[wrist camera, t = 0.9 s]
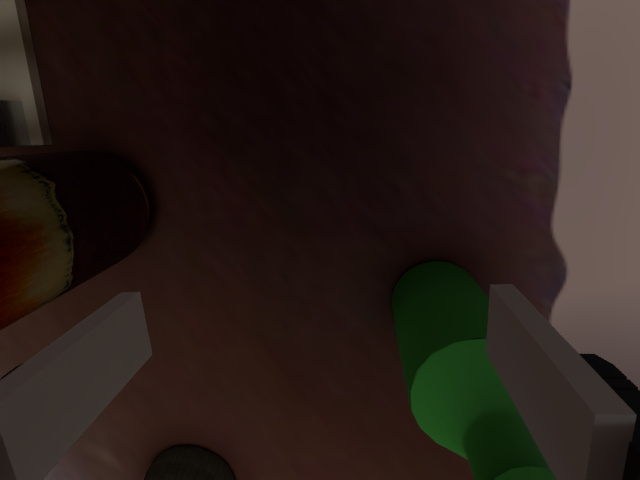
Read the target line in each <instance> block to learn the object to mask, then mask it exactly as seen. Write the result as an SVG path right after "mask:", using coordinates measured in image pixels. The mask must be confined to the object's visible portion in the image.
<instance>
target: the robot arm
mask: <svg viewBox="0 0 640 480" xmlns="http://www.w3.org/2000/svg"><path fill="white" fill-rule="evenodd" d="M486 354H487V356H488V358H489V360H490V361H491V363H492V365H493V367H494V369H495V370H496V372H497V374H498V376H499V378H500V379H501V381H502V383H503V385H504V387H505V388H506V390H507V392H508V394H509V396H510V397H511V399H512V401H513V403H514V405H515V406H516V408H517V410H518V412H519V414H520V415H521V417H522V419H523V421H524V423H525V424H526V426H527V428H528V430H529V432H530V433H531V435H532V437H533V439H534V441H535V442H536V444H537V446H538V448H539V450H540V452H541V453H542V455H543V457H544V459H545V461H546V462H547V464H548V466H549V468H550V470H551V471H552V473H553V475H554V477H555V479H556V480H640V391H639V390H638V388H637V387H636V386H635V385H634V384H633V383H632V382H631V381H630V380H627V377H626V376H625V375H624V374H623V373H622V372H621V371H619V369H617V368H616V367H615V366H614V365H613V364H611V363H609V362H608V361H606V360H604V359H602V358H601V357H599V356H597V355H595V354H578V353H577V352H576V351H575V349H574V348H573V347H572V346H571V345H570V344H569V343H568V342H567V341H566V340H565V339H564V338H563V337H562V336H561V335H560V334H559V333H558V332H557V331H556V329H555V328H554V327H553V326H552V325H551V324H550V323H549V322H548V321H547V320H546V319H545V318H544V317H543V316H542V315H541V314H540V313H539V312H538V311H537V309H536V308H535V307H534V306H533V305H532V304H531V303H530V302H529V301H528V300H527V299H526V298H525V297H524V296H523V295H522V294H521V293H520V292H519V291H518V289H517V288H516V287H515V286H514V285H513V284H498V285H490V293H489V310H488V326H487V342H486ZM151 355H152V350H151V345H150V340H149V335H148V330H147V325H146V320H145V315H144V310H143V305H142V300H141V295H140V292H121V293H120V294H118V295H117V296H115V297H114V298H113V299H111V300H110V301H109V302H107V303H106V304H104V305H103V306H102V307H100V308H99V309H98V310H96V311H95V312H94V313H92V314H91V315H89V316H88V317H87V318H85V319H84V320H83V321H81V322H80V323H78V324H77V325H76V326H74V327H73V328H72V329H70V330H69V331H67V332H66V333H65V334H63V335H62V336H61V337H59V338H58V339H56V340H55V341H54V342H52V343H51V344H50V345H48V346H47V347H46V348H44V349H43V350H41V351H40V352H39V353H37V354H36V355H35V356H33V357H32V358H30V359H29V360H28V361H26V362H25V363H23V364H21V365H19V366H17V367H15V368H14V369H13V370H11V371H10V372H8V373H7V374H6V375H4V376H3V377H1V380H0V480H43V479H44V478H45V476H46V475H47V474H48V473H49V472H50V471H51V470H52V468H53V467H54V466H55V465H56V464H57V463H58V462H59V460H60V459H61V458H62V457H63V456H64V455H65V454H66V452H67V451H68V450H69V449H70V448H71V447H72V446H73V444H74V443H75V442H76V441H77V440H78V439H79V438H80V436H81V435H82V434H83V433H84V432H85V431H86V430H87V428H88V427H89V426H90V425H91V424H92V423H93V422H94V420H95V419H96V418H97V417H98V416H99V415H100V414H101V412H102V411H103V410H104V409H105V408H106V407H107V406H108V404H109V403H110V402H111V401H112V400H113V399H114V398H115V396H116V395H117V394H118V393H119V392H120V391H121V390H122V388H123V387H124V386H125V385H126V384H127V383H128V382H129V380H130V379H131V378H132V377H133V376H134V375H135V374H136V372H137V371H138V370H139V369H140V368H141V367H142V366H143V364H144V363H145V362H146V361H147V360H148V359H149V358H150V356H151Z"/></svg>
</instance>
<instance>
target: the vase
mask: <svg viewBox="0 0 640 480" xmlns="http://www.w3.org/2000/svg"><path fill="white" fill-rule="evenodd" d="M151 217H152V201H151V197H150V194H149V191H148V189H147V187H146V185H145V184H144V182H143V181H142V179H141V178H140V177H139V176H138V175H137V174H136V173H135V172H134V171H133V170H132V169H130V168H129V167H127V166H126V165H124V164H122V163H120V162H117V161H115V160H113V159H111V158H109V157H107V156H105V155H102V154H99V153H96V152H89V151H74V152H56V153H44V154H32V155H20V156H8V157H0V330H2V329H4V328H5V327H7V326H9V325H11V324H12V323H14V322H16V321H18V320H19V319H21V318H23V317H25V316H26V315H28V314H30V313H32V312H33V311H35V310H37V309H38V308H40V307H42V306H44V305H45V304H47V303H49V302H51V301H52V300H54V299H56V298H58V297H59V296H61V295H63V294H65V293H66V292H68V291H70V290H72V289H73V288H75V287H77V286H78V285H80V284H82V283H84V282H85V281H87V280H89V279H90V278H92V277H94V276H96V275H97V274H99V273H101V272H102V271H104V270H106V269H108V268H109V267H111V266H113V265H114V264H116V263H118V262H119V261H121V260H122V259H124V258H125V257H127V256H128V255H130V254H131V253H132V252H134V251H135V249H136V248H137V247H138V246H139V245H140V243H141V241H142V240H143V238H144V235H145V232H146V230H147V228H148V227H149V224H150V221H151Z"/></svg>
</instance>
